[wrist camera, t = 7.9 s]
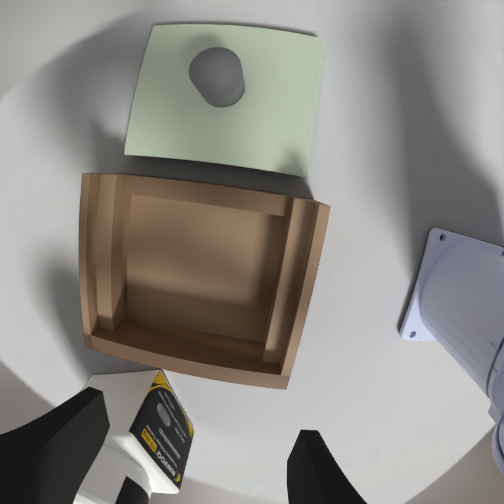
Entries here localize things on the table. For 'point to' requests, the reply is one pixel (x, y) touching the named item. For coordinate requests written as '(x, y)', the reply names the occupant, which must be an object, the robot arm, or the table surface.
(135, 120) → the cover plate
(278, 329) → the walnut box
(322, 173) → the table surface
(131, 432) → the medicine bottle
